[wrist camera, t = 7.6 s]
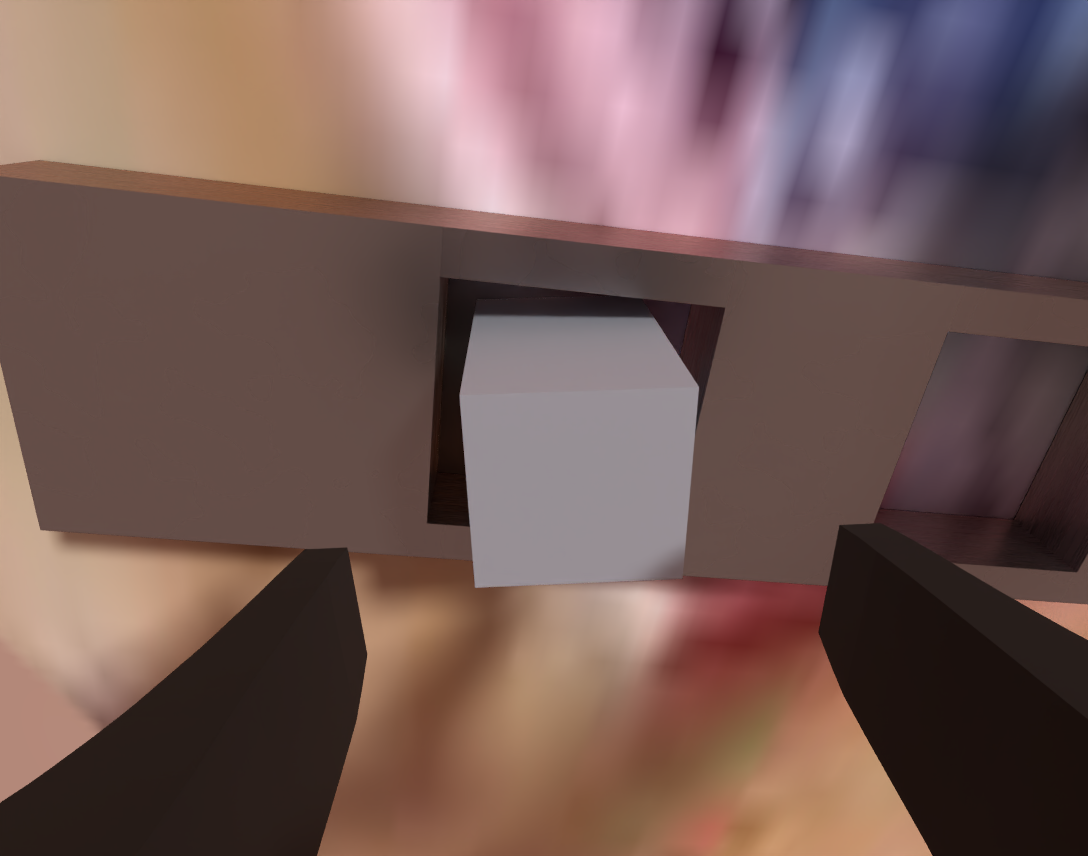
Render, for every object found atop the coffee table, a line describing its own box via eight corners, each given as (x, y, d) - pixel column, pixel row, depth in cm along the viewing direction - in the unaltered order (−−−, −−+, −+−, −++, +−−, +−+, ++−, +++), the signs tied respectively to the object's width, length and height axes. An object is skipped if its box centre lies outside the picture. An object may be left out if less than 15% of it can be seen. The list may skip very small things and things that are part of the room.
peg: (639, 294, 17) (699, 386, 11) (633, 439, 19) (682, 578, 13) (476, 299, 17) (459, 395, 11) (486, 444, 18) (475, 587, 13)
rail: (1200, 295, 17) (1303, 324, 15) (1061, 552, 21) (1128, 607, 18) (39, 159, 15) (-46, 171, 13) (98, 477, 18) (40, 530, 16)
